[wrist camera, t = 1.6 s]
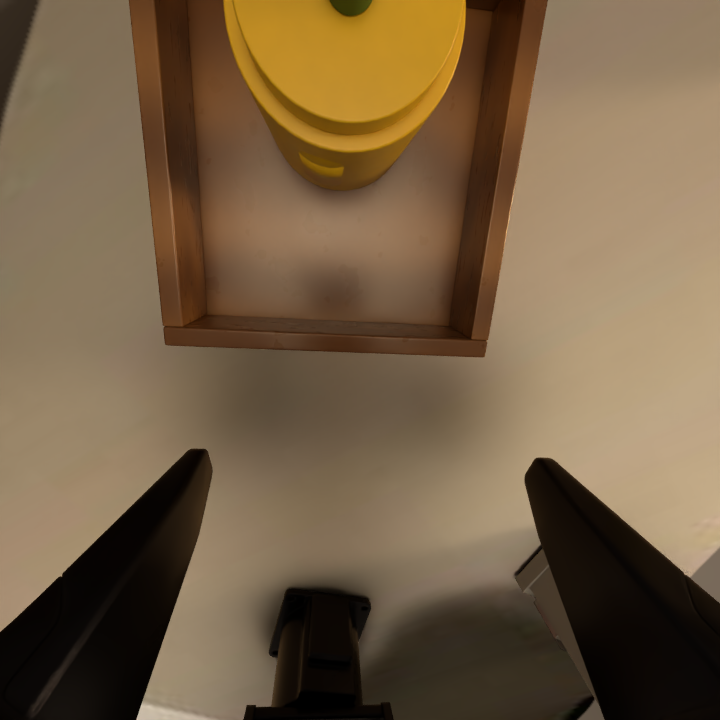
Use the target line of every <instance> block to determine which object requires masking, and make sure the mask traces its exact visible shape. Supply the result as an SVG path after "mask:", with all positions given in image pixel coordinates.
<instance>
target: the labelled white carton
mask: <svg viewBox="0 0 720 720" xmlns="http://www.w3.org/2000/svg"><path fill="white" fill-rule="evenodd" d="M515 579H516V581H517V582H518V584H519V586H520V588H521V590H522V591H523V592H524V593H526V594H528V595H531V596H533V597H535V598H536V599H537V600H536V601H535V602H534V604H535V606H536V607H537V609H538V611H539V613H540V614H541V616H542V618H543V619H544V621H545V623H546V625H547V626H548V628H549V630H550V632H551V633H552V635H553V637H554V639H555V640H556V642H557V644H558V646H559V647H560V649H562V650H565V651H567V652H568V653H569V655H570V657H571V658H572V660H573V662H574V664H575V665H576V667H577V669H578V670H579V672H580V674H581V675H582V677H583V679H584V681H585V682H586V684H587V686H588V687H589V689H590V691H591V692H592V694H593V696H594V698H595V699H596V701H597V703H598V700H597V697H596V694H595V692H594V689H593V686H592V683H591V681H590V678H589V675H588V672H587V669H586V667H585V664H584V661H583V658H582V656H581V653H580V650H579V647H578V645H577V642H576V639H575V636H574V634H573V631H572V628H571V625H570V622H569V620H568V617H567V614H566V611H565V609H564V606H563V603H562V600H561V598H560V595H559V592H558V589H557V586H556V584H555V581H554V578H553V575H552V573H551V570H550V567H549V564H548V562H547V559H546V556H545V553H544V550H543V549H542V550H541V551H540V552H539V553H538V554H537V555H536V556H535V557H534V558H533V559H532V561H531V562H530V563H529V564H528V565H527V566H526V567H525V568H524V569H523V570H522V571H521V573H520V574H519V575H518V576H517V577H516V578H515ZM598 704H599V703H598ZM599 706H600V705H599Z"/></svg>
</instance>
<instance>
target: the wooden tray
mask: <svg viewBox="0 0 720 720" xmlns="http://www.w3.org/2000/svg"><path fill="white" fill-rule="evenodd" d="M465 1H466V16H465V30H464V38H463V44H462V48H461V53H460V57H459V61H458V64H457V66H456V69H455V72H454V75H453V78H452V80H451V82H450V84H449V86H448V88H447V90H446V92H445V94H444V95H443V97H442V99H441V100H440V102H439V103H438V105H437V106H436V108H435V109H434V110H433V112H432V113H431V115H430V116H429V117H428V119H427V120H426V121H425V123H424V124H423V125H422V127H421V128H420V129H419V131H418V132H417V133H416V135H415V136H414V137H413V139H412V140H411V141H410V143H409V144H408V145H407V147H406V148H405V149H404V151H403V152H402V153H401V155H400V156H399V157H398V159H397V160H396V161H395V163H394V164H393V165H392V166H391V168H390V169H389V170H388V171H387V172H386V173H385V174H384V175H383V176H382V177H380V178H379V179H377V180H376V181H375V182H373V183H371V184H369V185H367V186H364V187H361V188H359V189H354V190H346V191H339V190H331V189H326V188H323V187H320V186H318V185H315V184H313V183H311V182H310V181H308V180H306V179H305V178H304V177H302V176H301V175H300V174H298V173H297V172H296V171H295V170H294V169H293V168H292V167H291V165H290V164H289V163H288V162H287V161H286V159H285V158H284V156H283V155H282V153H281V151H280V150H279V148H278V146H277V144H276V142H275V140H274V138H273V136H272V134H271V132H270V130H269V128H268V126H267V124H266V122H265V120H264V118H263V116H262V114H261V112H260V110H259V108H258V106H257V104H256V102H255V100H254V98H253V96H252V94H251V92H250V90H249V89H248V87H247V85H246V83H245V81H244V78H243V76H242V74H241V72H240V70H239V68H238V66H237V63H236V60H235V58H234V55H233V52H232V49H231V46H230V42H229V38H228V34H227V30H226V23H225V16H224V6H223V0H129V6H130V15H131V25H132V34H133V44H134V54H135V63H136V73H137V82H138V92H139V101H140V111H141V121H142V130H143V140H144V149H145V159H146V168H147V178H148V187H149V197H150V207H151V216H152V226H153V235H154V245H155V254H156V264H157V273H158V283H159V293H160V302H161V312H162V321H163V326H165V327H164V338H165V344H166V345H170V346H196V347H223V348H249V349H275V350H302V351H328V352H354V353H381V354H407V355H433V356H460V357H484V356H485V352H486V346H487V341H486V340H488V337H489V331H490V326H491V320H492V314H493V308H494V303H495V297H496V291H497V286H498V280H499V274H500V269H501V263H502V257H503V251H504V246H505V240H506V234H507V229H508V223H509V217H510V212H511V206H512V200H513V195H514V189H515V183H516V177H517V172H518V166H519V160H520V155H521V149H522V143H523V138H524V132H525V126H526V120H527V115H528V109H529V103H530V98H531V92H532V86H533V81H534V75H535V69H536V64H537V58H538V52H539V46H540V41H541V35H542V29H543V24H544V18H545V12H546V7H547V1H548V0H465Z"/></svg>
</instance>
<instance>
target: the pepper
mask: <svg viewBox="0 0 720 720" xmlns="http://www.w3.org/2000/svg"><path fill="white" fill-rule="evenodd" d="M223 6H224V16H225V23H226V30H227V34H228V38H229V42H230V46H231V49H232V52H233V55H234V58H235V60H236V63H237V66H238V68H239V70H240V72H241V74H242V76H243V78H244V81H245V83H246V85H247V87H248V89H249V90H250V92H251V94H252V96H253V98H254V100H255V102H256V104H257V106H258V108H259V110H260V112H261V114H262V116H263V118H264V120H265V122H266V124H267V126H268V128H269V130H270V132H271V134H272V136H273V138H274V140H275V142H276V144H277V146H278V148H279V150H280V151H281V153H282V155H283V156H284V158H285V159H286V161H287V162H288V163H289V164H290V165H291V167H292V168H293V169H294V170H295V171H296V172H297V173H298V174H300V175H301V176H302V177H304V178H305V179H306V180H308V181H310V182H311V183H313V184H315V185H318V186H320V187H323V188H326V189H331V190H339V191H346V190H354V189H359V188H361V187H364V186H367V185H369V184H371V183H373V182H375V181H376V180H377V179H379V178H380V177H382V176H383V175H384V174H385V173H386V172H387V171H388V170H389V169H390V168H391V166H392V165H393V164H394V163H395V161H396V160H397V159H398V157H399V156H400V155H401V153H402V152H403V151H404V149H405V148H406V147H407V145H408V144H409V143H410V141H411V140H412V139H413V137H414V136H415V135H416V133H417V132H418V131H419V129H420V128H421V127H422V125H423V124H424V123H425V121H426V120H427V119H428V117H429V116H430V115H431V113H432V112H433V110H434V109H435V108H436V106H437V105H438V103H439V102H440V100H441V99H442V97H443V95H444V94H445V92H446V90H447V88H448V86H449V84H450V82H451V80H452V78H453V75H454V72H455V69H456V66H457V64H458V61H459V57H460V53H461V48H462V44H463V38H464V30H465V16H466V1H465V0H223Z"/></svg>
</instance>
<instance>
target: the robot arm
mask: <svg viewBox="0 0 720 720" xmlns="http://www.w3.org/2000/svg"><path fill="white" fill-rule="evenodd" d="M212 472H213V470H212V465H211V461H210V457H209V453H208V451H207V450H206V449H190V450H188V451H187V452H186V453H185V454H184V455H183V456H182V457H181V458H180V459H179V460H178V461H177V462H176V463H175V464H174V465H173V466H172V467H171V468H170V469H169V470H168V471H167V472H166V473H165V474H164V475H163V476H162V477H161V478H160V479H159V480H158V481H156V482H155V483H154V484H153V485H152V486H151V487H150V488H149V489H148V490H147V491H146V492H145V493H144V494H143V495H142V496H141V497H140V498H139V499H138V500H137V501H136V502H135V503H134V504H133V505H132V506H131V507H130V508H129V509H128V510H127V511H126V512H125V513H124V514H123V515H122V516H121V517H120V518H119V519H118V520H117V521H116V522H115V523H114V524H113V525H112V526H111V527H110V528H108V529H107V530H106V531H105V532H104V533H103V534H102V535H101V536H100V537H99V538H98V539H97V540H96V541H95V542H94V543H93V544H92V545H91V546H90V547H89V548H88V549H87V550H86V551H85V552H84V553H83V554H82V555H81V556H80V557H79V558H78V559H77V560H76V561H75V562H74V563H73V564H72V565H71V566H70V567H69V568H68V569H67V570H66V571H65V572H64V573H63V574H62V577H58V578H57V579H56V580H55V581H54V582H53V583H52V584H51V585H50V586H49V587H48V588H47V589H46V590H45V591H44V592H43V593H42V594H41V595H40V596H39V597H38V598H37V599H36V600H35V601H33V602H32V603H31V604H30V605H29V606H28V607H27V608H26V609H25V610H24V611H23V612H22V613H21V614H20V615H19V616H18V617H17V618H15V619H14V620H13V621H12V622H11V623H10V624H9V625H8V626H7V627H5V628H4V629H3V630H2V631H1V632H0V720H136V718H137V715H138V712H139V709H140V706H141V704H142V701H143V698H144V695H145V692H146V689H147V686H148V683H149V680H150V677H151V674H152V671H153V668H154V665H155V662H156V660H157V657H158V654H159V651H160V648H161V645H162V642H163V639H164V636H165V633H166V630H167V627H168V624H169V621H170V618H171V615H172V613H173V610H174V607H175V604H176V601H177V598H178V595H179V592H180V589H181V586H182V583H183V580H184V577H185V574H186V571H187V569H188V566H189V563H190V560H191V557H192V554H193V551H194V548H195V545H196V542H197V539H198V536H199V532H200V528H201V524H202V519H203V515H204V510H205V506H206V501H207V497H208V492H209V488H210V483H211V479H212ZM525 486H526V490H527V494H528V498H529V501H530V505H531V509H532V513H533V517H534V521H535V525H536V529H537V533H538V536H539V539H540V542H541V545H542V548H543V550H544V553H545V556H546V559H547V562H548V564H549V567H550V570H551V573H552V575H553V578H554V581H555V584H556V586H557V589H558V592H559V595H560V598H561V600H562V603H563V606H564V609H565V611H566V614H567V617H568V620H569V622H570V625H571V628H572V631H573V634H574V636H575V639H576V642H577V645H578V647H579V650H580V653H581V656H582V658H583V661H584V664H585V667H586V669H587V672H588V675H589V678H590V681H591V683H592V686H593V689H594V692H595V694H596V697H597V700H598V703H599V705H600V708H601V711H602V714H603V717H604V719H605V720H720V603H719V602H717V601H716V600H715V599H714V598H713V597H711V596H710V595H709V594H708V593H707V592H705V591H704V590H703V589H702V588H701V587H700V586H699V585H697V584H696V583H695V582H694V581H693V580H691V578H689V577H688V576H687V575H684V573H683V572H682V571H681V570H680V569H679V568H678V567H677V566H675V565H674V564H673V563H672V562H671V561H670V560H669V559H667V558H666V557H665V556H664V555H663V554H662V553H660V552H659V551H658V550H657V549H656V548H655V547H654V546H652V545H651V544H650V543H649V542H648V541H647V540H645V539H644V538H643V537H642V536H641V535H640V534H639V533H637V532H636V531H635V530H634V529H633V528H632V527H630V526H629V525H628V524H627V523H626V522H625V521H624V520H622V519H621V518H620V517H619V516H618V515H617V514H615V513H614V512H613V511H612V510H611V509H610V508H609V507H607V506H606V505H605V504H604V503H603V502H602V501H600V500H599V499H598V498H597V497H596V496H595V495H594V494H592V493H591V492H590V491H589V490H588V489H587V488H586V487H584V486H583V485H582V484H581V483H580V482H579V481H577V480H576V479H575V478H574V477H573V476H572V475H571V474H569V473H568V472H567V471H566V470H565V469H564V468H562V467H561V466H560V465H559V464H558V463H557V462H556V461H554V460H553V459H551V458H536V459H535V460H534V461H533V462H532V464H531V466H530V467H529V469H528V471H527V472H526V474H525ZM291 596H292V597H291ZM370 610H371V604H370V601H369V600H368V599H366V598H358V597H351V596H343V595H336V594H328V593H321V592H313V591H306V590H298V589H289V590H287V591H286V592H285V594H284V598H283V602H282V605H281V609H280V612H279V616H278V619H277V623H276V626H275V630H274V633H273V637H272V641H271V644H270V649H269V655H270V656H272V657H277V666H276V674H275V682H274V690H273V697H272V705H271V707H256V705H247V707H246V711H245V716H244V719H243V720H393V715H392V710H391V706H390V702H381V704H376V705H363V703H362V689H361V675H360V661H359V647H358V642H359V639H360V636H361V634H362V631H363V628H364V626H365V623H366V620H367V618H368V615H369V612H370Z"/></svg>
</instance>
